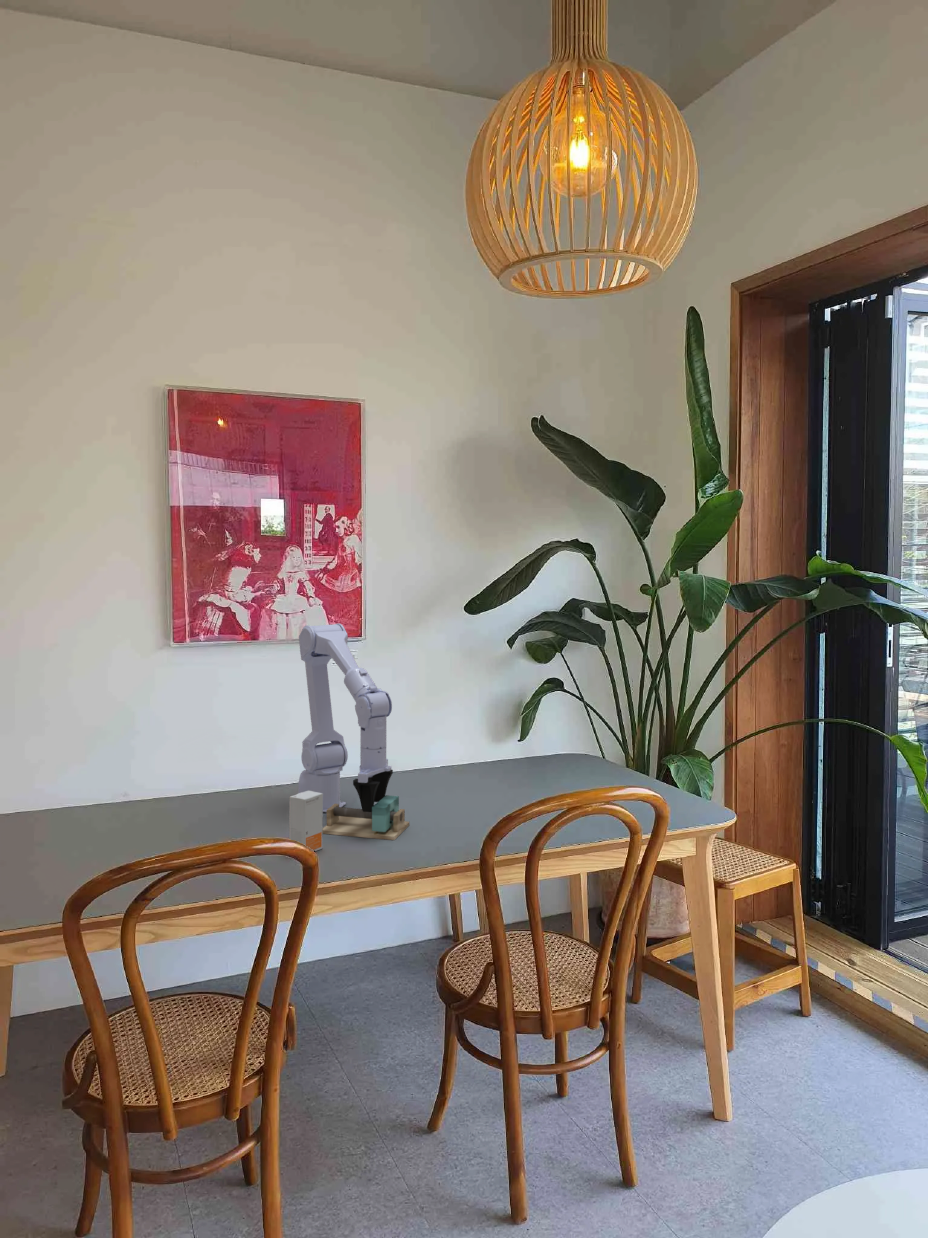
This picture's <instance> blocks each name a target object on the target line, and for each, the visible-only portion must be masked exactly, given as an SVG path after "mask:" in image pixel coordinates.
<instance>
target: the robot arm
mask: <svg viewBox="0 0 928 1238" xmlns="http://www.w3.org/2000/svg"><path fill="white" fill-rule="evenodd" d="M348 637H349V636H348V632H347V631H346V629H345V627H344V625H343V624H342V623H334V624H320V625H304V626H303V627H302V630H301V631H300V633H299V635H298V642H299V643H298V644H299V652H300V653H299V654H300V659H301V661H303V662H304V663H305V664H304V665H305V674H306V675H305V677H306V685H307V694H308V695H307V696H308V705H309V715H310V722H311V723H310V724H311V732H310V733H309V734H308V735H306V737H305V738H304V739H303V740H302V742H301V743H302V749H301V750H302V752H301V763H302V766H303V769H304V770H302V771H301V773H300V775H299V779H298V793H302V792H305V791H313V792H318V793H322V794H323V813H327V809H328V808H330V807H331V806H332V805H334V804H339V807H344V806H345V805H346V804H347V802H346V801H341V772H342V771H343V768H344V767H345V766H346V764H347V762H348V757H349V756H348V755H349V754H348V750H347V746H346V744H345V740H344V736H343V735H342V734H341V733H339V732H338V731H337V730H335V729H334V720H333V711H332V710H333V709H332V708H333V707H332V702H331V700H332V699H331V690H330V680H329V671H328V670H329V669H328V664H329V662H330V661H331V659H332V660H333V661H334V663H335V664H336V665H337V667H339V669H340V670H341V672H342V673H343V674H344V678H343V683H344V685H345V687H346V689H347V691H348V692H349V693H350V695H351V696H352V699H353V700H354V702H355V704H354V709H355V713H356V716H357V724H358V727H360V741H359V742H360V754H359V755H360V756H359V757H360V763H359V764H360V765H359V772H357V773H358V774H357V778H355V779H353V780H352V785H353V786H354V788H355V790H356V792H357V795H358V797H359V802H360V806H361V809H362V810H363V812H372V807H373V806H374V805H375V803H377V802H379V801H380V800H381V799H382V798H383V797H385V796H386V795H387V794H386V793H387V789H388V785H389V782H390V779H391V778H392V775H393V773H394V770H393V769H392V765H391V766H390V765H389V759H388V758H387V717H389V716H390V715H391V713H392V709H393V702H392V699H391V697H390V695H389V693H388V692H387V691H386V690H382V688H378V686H377V685H376V683H375V682H374V681H373V679H372V677H371V675H370V674H369V673H368V671H367V670H366V669H365V667H359V666H358V663H357V662H356V659H355V658H354V654H353V653H352V652H351V649H350V648H349V646H348V642H349V640H348V639H349V638H348ZM321 743H322V744H321Z"/></svg>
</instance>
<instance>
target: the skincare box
mask: <svg viewBox="0 0 928 1238" xmlns="http://www.w3.org/2000/svg"><path fill="white" fill-rule="evenodd" d="M288 799H289V806H288V807H289V812H288V816H289V818H288V820H289V821H288V822H289V823H288V826H289V827H288V828H289V829H288V831H289V833H288V834H289V835H288V840H289V839H291V840H296V841H299V842H300V843H303V844H305V845H306V846H308V847H310V848H311V849H313V850H315V852H317V851H320V850H322V849H323V834H322V828H323V827H324V826H323V825H324V824H323V818H324V817H323V815H324V814H323V813H324V812H323V794H322V793H318V792H313V791H305V792H302V793H299V792H297V794H294V795H291V796H289V798H288Z"/></svg>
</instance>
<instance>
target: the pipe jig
mask: <svg viewBox="0 0 928 1238" xmlns="http://www.w3.org/2000/svg"><path fill="white" fill-rule="evenodd" d="M405 810H406V809H405V808H404V809H403V808H399V811H398V812H392V811H390V821H393V825H392V826H391V827H390V828H389V829H388V830H387V831H386V832H380V831H372V812H363V810H362V808H354V807H344V806H343V807H339V804H334V805H332V806H331V807H330V808H328V809H327V812H326V825H324V826H323V827H322V835H333V836H334V835H336V836H345V837H356V838H357V837H358V838H368V839H377V840H378V839H379V840H389V841H395V840H396V839H397V838H398V837H399V836H401V834H403V832H404V831H405V830H406V829H407V828H408V827H409V826H410V821H408V820H407V821H406V820H405V819H406V817H405V816H406V815H405V814H406V813H405Z"/></svg>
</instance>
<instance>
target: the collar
mask: <svg viewBox="0 0 928 1238" xmlns="http://www.w3.org/2000/svg"><path fill="white" fill-rule="evenodd" d="M399 810H400V796H398V795H389V794H385V797H383V798H382V799H381V800H380V801H379V802H375V803H374V806H373V807H372V831H380V832H386V831H387V830H388V829H389V828H390V827H391V826H392V825H393V821H390V811H392V812H398V811H399Z"/></svg>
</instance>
